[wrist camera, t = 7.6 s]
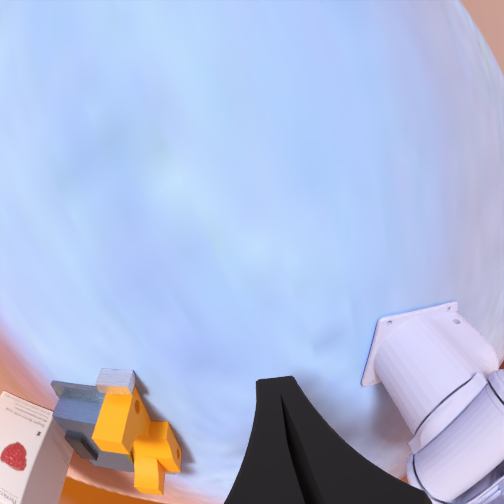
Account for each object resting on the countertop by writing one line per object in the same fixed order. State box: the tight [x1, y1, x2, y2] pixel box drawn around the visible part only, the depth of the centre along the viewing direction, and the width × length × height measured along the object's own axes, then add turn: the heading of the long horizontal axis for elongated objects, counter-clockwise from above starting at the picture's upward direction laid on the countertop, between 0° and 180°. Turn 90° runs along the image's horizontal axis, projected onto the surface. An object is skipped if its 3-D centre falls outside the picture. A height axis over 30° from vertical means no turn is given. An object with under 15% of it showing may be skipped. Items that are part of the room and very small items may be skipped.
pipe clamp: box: [92, 385, 182, 495], centre depth 21 cm, size 12×4×6 cm, turn 2°
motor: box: [51, 368, 175, 474], centre depth 21 cm, size 10×17×4 cm, turn 2°
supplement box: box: [0, 391, 74, 504], centre depth 16 cm, size 9×9×15 cm
